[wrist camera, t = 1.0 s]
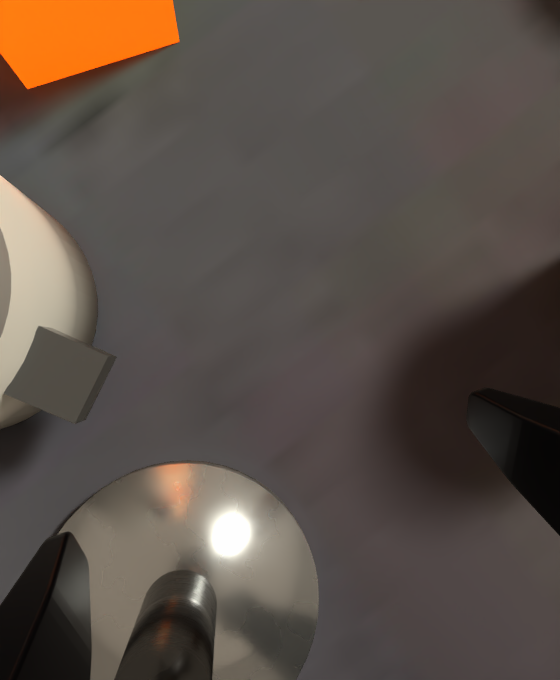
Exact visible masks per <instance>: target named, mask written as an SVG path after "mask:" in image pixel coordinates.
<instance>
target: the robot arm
mask: <svg viewBox="0 0 560 680" xmlns="http://www.w3.org/2000/svg"><path fill="white" fill-rule="evenodd" d="M467 424H468V427H469V428H470V430H471V431H472V433H473V434H474V435H475V437H476V438H477V439H478V441H479V442H480V443H481V445H482V446H483V447H484V448H485V450H486V451H487V452H488V454H489V455H490V456H491V458H492V459H493V460H494V462H495V463H496V464H497V466H498V467H499V468H500V469H501V471H502V472H503V473H504V475H505V476H506V477H507V478H508V480H509V481H510V482H511V483H512V484H513V485H514V487H515V488H516V489H517V490H518V491H519V492H520V493H521V494H522V495H523V496H524V498H525V499H526V500H527V501H528V502H529V503H530V504H531V505H532V506H533V507H534V508H535V510H536V511H537V512H538V513H539V514H540V515H541V516H542V517H543V518H544V519H545V520H546V521H547V523H548V524H549V525H550V526H551V527H552V528H553V529H554V530H555V531H556V532H557V533H558V534H559V536H560V408H558V407H554V406H551V405H547V404H544V403H540V402H537V401H533V400H530V399H526V398H523V397H519V396H515V395H512V394H508V393H505V392H501V391H498V390H494V389H491V388H483V389H480V390H477V391H474V392H472V393H471V394H470V396H469V400H468V409H467ZM91 658H92V638H91V610H90V582H89V565H88V560H87V557H86V555H85V554H84V552H83V550H82V549H81V547H80V545H79V543H78V542H77V540H76V538H75V537H74V535H73V534H72V533H71V532H64V533H61V534H58V535H55V536H52V537H49V538H48V539H46V540H45V541H44V543H43V544H42V545H41V547H40V548H39V550H38V551H37V553H36V554H35V555H34V557H33V558H32V560H31V561H30V563H29V564H28V566H27V567H26V569H25V570H24V572H23V573H22V574H21V576H20V577H19V579H18V580H17V582H16V583H15V585H14V586H13V588H12V589H11V590H10V592H9V593H8V595H7V596H6V598H5V599H4V601H3V602H2V604H1V605H0V680H90V676H91Z"/></svg>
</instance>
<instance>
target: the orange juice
mask: <svg viewBox="0 0 560 680" xmlns="http://www.w3.org/2000/svg"><path fill="white" fill-rule="evenodd" d="M177 42H179V36H178V30H177V24H176V18H175V12H174V6H173V0H0V53H1V55H2V56H3V57H4V59H5V60H6V61H7V63H8V64H9V65H10V67H11V68H12V69H13V71H14V72H15V73H16V75H17V76H18V77H19V79H20V80H21V81H22V83H23V84H24V85H25V87H26V88H27V89H30V88H33V87H36V86H39V85H42V84H46V83H49V82H52V81H55V80H58V79H62V78H65V77H68V76H71V75H74V74H78V73H81V72H84V71H87V70H90V69H94V68H97V67H100V66H103V65H106V64H110V63H113V62H116V61H119V60H122V59H126V58H129V57H132V56H135V55H138V54H142V53H145V52H148V51H151V50H154V49H158V48H161V47H164V46H167V45H170V44H174V43H177Z"/></svg>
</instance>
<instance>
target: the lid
mask: <svg viewBox="0 0 560 680" xmlns="http://www.w3.org/2000/svg"><path fill="white" fill-rule="evenodd" d="M64 532H71V533H72V534H73V535H74V537H75V538H76V540H77V542H78V543H79V545H80V547H81V549H82V550H83V552H84V554H85V555H86V557H87V560H88V565H89V582H90V610H91V638H92V658H91V676H90V680H296V678H297V677H298V675H299V673H300V671H301V669H302V667H303V665H304V663H305V661H306V659H307V656H308V653H309V651H310V648H311V645H312V642H313V639H314V634H315V629H316V625H317V618H318V607H319V593H318V580H317V574H316V568H315V564H314V561H313V557H312V554H311V551H310V548H309V545H308V543H307V541H306V538H305V536H304V534H303V532H302V530H301V527H300V526H299V524H298V523H297V521H296V519H295V518H294V516H293V514H292V513H291V512H290V510H289V509H288V508H287V507H286V506H285V504H284V503H283V502H282V501H281V500H280V499H279V498H278V497H277V496H276V495H275V494H274V493H273V492H272V491H271V490H270V489H269V488H267V487H266V486H264V485H263V484H261V483H260V482H259V481H257V480H256V479H254V478H252V477H250V476H248V475H246V474H244V473H242V472H240V471H238V470H235V469H233V468H230V467H227V466H224V465H220V464H215V463H210V462H205V461H191V460H185V461H170V462H164V463H159V464H154V465H150V466H147V467H144V468H141V469H138V470H135V471H133V472H131V473H128V474H126V475H124V476H122V477H120V478H118V479H116V480H115V481H113V482H111V483H110V484H108V485H107V486H105V487H103V488H102V489H101V490H99V491H98V492H97V493H96V494H95V495H93V496H92V497H91V498H90V499H88V500H87V501H86V502H85V503H84V504H83V505H82V506H81V507H80V508H79V509H78V510H77V511H76V512H75V513H74V514H73V515H72V516H71V517H70V518H69V520H68V521H67V522H66V523H65V525H64V526H63V527H62V529H61V530H60V531H59V533H58V534H61V533H64ZM58 534H57V535H58Z"/></svg>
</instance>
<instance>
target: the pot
mask: <svg viewBox="0 0 560 680" xmlns="http://www.w3.org/2000/svg"><path fill="white" fill-rule="evenodd" d="M97 317H98V299H97V292H96V286H95V282H94V278H93V275H92V271H91V269H90V266H89V264H88V262H87V260H86V257H85V255H84V254H83V252H82V250H81V249H80V247H79V246H78V244H77V242H76V241H75V240H74V239H73V237H72V236H71V235H70V234H69V233H68V231H67V230H66V229H65V228H64V227H63V226H62V225H61V224H60V223H58V222H57V221H56V220H55V219H54V218H53V217H52V216H50V215H49V214H48V213H47V212H45V211H44V210H43V209H42V208H40V207H39V206H38V205H37V204H35V203H34V202H33V201H32V200H30V199H29V198H28V197H27V196H25V195H24V194H23V193H22V192H20V191H19V190H18V189H17V188H15V187H14V186H13V185H12V184H10V183H9V182H8V181H7V180H5V179H4V178H3V177H2V176H0V429H2V428H6V427H9V426H12V425H14V424H17V423H19V422H21V421H23V420H26V419H28V418H29V417H31V416H33V415H35V414H36V413H38V412H40V411H41V410H43V411H46V412H48V413H50V414H53V415H55V416H57V417H60V418H62V419H64V420H67V421H69V422H72V423H74V424H76V423H78V422H81V421H83V420H86V418H87V416H88V414H89V412H90V410H91V408H92V406H93V404H94V402H95V400H96V398H97V396H98V394H99V392H100V390H101V388H102V386H103V384H104V382H105V380H106V377H107V375H108V373H109V371H110V369H111V367H112V365H113V363H114V361H115V359H116V356H114V355H112V354H110V353H107V352H105V351H103V350H100V349H98V348H96V347H94V346H92V343H93V339H94V336H95V332H96V325H97Z"/></svg>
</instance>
